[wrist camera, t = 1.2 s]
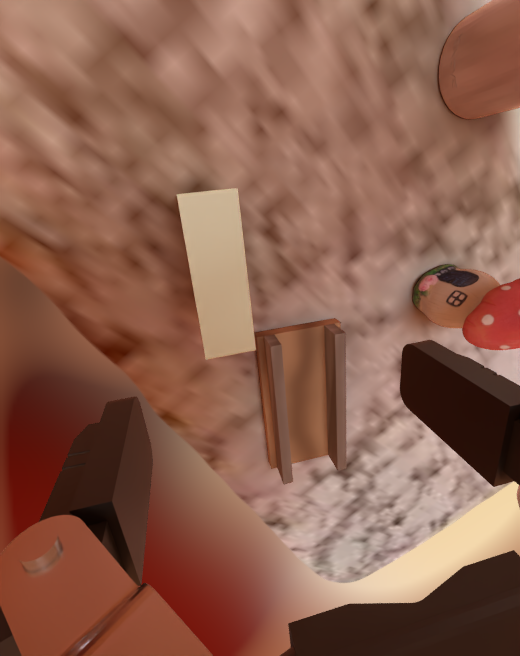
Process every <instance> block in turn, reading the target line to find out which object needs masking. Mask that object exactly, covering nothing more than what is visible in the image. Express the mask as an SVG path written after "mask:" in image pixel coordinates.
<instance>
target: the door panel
mask: <svg viewBox="0 0 520 656" xmlns="http://www.w3.org/2000/svg"><path fill="white" fill-rule="evenodd" d="M177 201H178V206H179V212H180V218H181V223H182V229H183V235H184V240H185V246H186V252H187V257H188V263H189V269H190V274H191V280H192V286H193V291H194V297H195V303H196V308H197V314H198V319H199V325H200V330H201V336H202V341H203V347H204V353H205V358H206V359H212V358H217V357H222V356H228V355H233V354H238V353H244V352H249V351H254V350H256V346H255V337H254V328H253V320H252V311H251V302H250V293H249V285H248V276H247V267H246V258H245V249H244V241H243V232H242V223H241V214H240V206H239V197H238V188H233V189H223V190H214V191H204V192H195V193H185V194H177Z"/></svg>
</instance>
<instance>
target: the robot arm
mask: <svg viewBox="0 0 520 656" xmlns="http://www.w3.org/2000/svg"><path fill="white" fill-rule="evenodd" d="M439 85H440V91H441V94H442V97H443V99H444V102H445V103H446V105H447V106H448V108H449V109H450V110H451V111H452V112H453V113H454V114H455V115H457V116H459V117H461V118H465V119H478V118H481V117H485V116H489V115H493V114H497V113H500V112H504V111H509V110H512V109H516V108H520V0H492V1H490V2H489V3H487V4H486V5H484V6H483V7H481V8H479V9H478V10H476V11H475V12H473V13H472V14H470V15H468V16H467V17H465V18H464V19H463V20H462V21H461V22H460V23H459V24H458V25H457V26H456V27H455V28H454V30H453V31H452V32H451V34H450V35H449V37H448V39H447V41H446V43H445V46H444V48H443V52H442V55H441V59H440V65H439ZM400 393H401V397H402V400H403V402H404V404H405V405H406V407H407V408H408V409H409V410H410V411H411V412H412V413H414V414H415V415H416V416H417V417H418V418H419V419H420V420H421V421H422V422H423V423H424V424H426V425H427V426H428V427H429V428H430V429H431V430H432V431H433V432H434V433H435V434H436V435H438V436H439V437H440V438H441V439H442V440H443V441H444V442H445V443H446V444H447V445H448V446H450V447H451V448H452V449H453V450H454V451H455V452H456V453H457V454H458V455H459V456H461V457H462V458H463V459H464V460H465V461H466V462H467V463H468V464H469V465H470V466H471V467H473V468H474V469H475V470H476V471H477V472H478V473H479V474H480V475H481V476H482V477H483V478H485V479H486V480H487V481H488V482H489V483H490V484H491V485H492V486H493V487H495V486H498V485H502V484H506V483H509V482H513V481H515V482H516V483H517V484H519V487H518V491H517V499H518V503H519V507H520V386H519V385H517V384H516V383H514V382H512V381H510V380H508V379H507V378H505V377H503V376H501V375H497V373H496V372H494V371H492V370H490V369H488V368H484V366H483V365H481V364H479V363H477V362H476V361H474V360H472V359H470V358H468V357H465V356H462V355H458V354H456V353H454V352H452V351H451V350H449V349H447V348H445V347H443V346H442V345H440V344H438V343H436V342H435V341H432V340H427V341H422V342H416V343H411V344H407V345H405V347H404V348H403V351H402V364H401V380H400ZM152 462H153V459H152V449H151V444H150V439H149V436H148V432H147V428H146V424H145V421H144V417H143V413H142V409H141V406H140V402H139V400H138V398H137V397H131V398H125V399H120V400H115V401H110V402H108V403H107V404H106V406H105V409H104V412H103V415H102V418H101V421H100V423H95V424H90V425H88V426H87V427H86V428H85V429H84V430H83V431H82V432H81V433H80V434H79V435H78V436H77V437H76V438H75V439H74V441H73V444H72V446H71V448H70V451H69V453H68V458H66V460H65V462H64V465H63V467H62V471H61V472H60V474H59V476H58V479H57V481H56V483H55V486H54V488H53V490H52V493H51V495H50V497H49V500H48V502H47V504H46V507H45V509H44V511H43V514H42V516H41V518H40V521H39V522H38V523H36V524H34V525H33V526H31V527H29V528H28V529H26V530H25V531H24V532H22V533H21V534H20V535H19V536H17V537H16V538H15V539H14V540H13V541H12V542H11V543H10V544H9V545H8V546H7V547H6V548H5V549H4V551H3V552H2V553H1V555H0V656H213V655H212V654H211V653H210V652H209V651H208V650H207V648H205V646H204V645H203V644H202V643H201V642H200V640H199V639H198V638H197V637H196V636H195V635H194V634H193V633H192V632H191V630H190V629H189V628H188V627H187V626H186V625H185V623H184V622H183V621H182V620H181V619H180V618H179V617H178V616H177V614H176V613H175V612H174V611H173V610H172V609H171V608H170V607H169V605H168V604H167V603H166V602H165V601H164V600H163V598H162V597H161V596H160V595H159V594H158V593H157V592H156V591H155V590H154V589H153V588H152V587H151V586H150V585H148V584H146V583H144V584H143V585H141V582H142V571H143V561H144V549H145V540H146V529H147V519H148V508H149V496H150V487H151V475H152V464H153V463H152ZM139 586H140V587H139ZM288 625H289V634H290V643H291V648H290V649H288V650H287V651H286V652H284V653H283V654H282V655H280V656H520V556H519V555H518V554H517V553H516V552H515V551H514V550H513V551H510V552H507V553H504V554H501V555H498V556H495V557H492V558H489V559H486V560H482V561H479V562H476V563H473V564H470V565H467V566H464V567H462V568H461V569H460V570H459V571H458V572H456V573H455V574H454V575H453V576H452V577H450V578H449V579H448V580H446V581H445V582H444V583H443V584H441V585H440V586H439V587H438V588H437V589H435V590H434V591H433V592H432V593H430V595H428V596H427V597H425V598H424V599H423V600H421V601H419V602H416V603H381V604H380V603H379V604H378V603H377V604H347V605H344V606H341V607H338V608H335V609H332V610H329V611H326V612H322V613H319V614H316V615H313V616H310V617H307V618H304V619H301V620H298V621H295V622H292V623H289V624H288Z"/></svg>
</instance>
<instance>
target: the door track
mask: <svg viewBox="0 0 520 656" xmlns="http://www.w3.org/2000/svg"><path fill="white" fill-rule="evenodd" d="M254 335H255V344H256V353H257V361H258V370H259V379H260V388H261V396H262V405H263V414H264V423H265V432H266V440H267V449H268V458H269V463H270V466H271V469H272V468H276V467H277V468H278V470H279V473H280V476H281V478H282V481H283V484H287V483H291V482H293V476H292V464H293V463H297V462H301V461H305V460H309V459H313V458H317V457H321V456H325V455H329V457H330V458H331V460H332V462H333V463H334V465H335V467H336V469H337V470H342V469H345V468H346V341H345V332H344V331H343V330H341V329H340V322H339V321H338V320H337V319H335V318H334V319H328V320H323V321H317V322H311V323H306V324H300V325H295V326H289V327H283V328H278V329H272V330H266V331H261V332H255V333H254Z"/></svg>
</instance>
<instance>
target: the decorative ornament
mask: <svg viewBox="0 0 520 656" xmlns="http://www.w3.org/2000/svg"><path fill="white" fill-rule="evenodd" d="M413 302H414V304H415V306H416V307H417V308H418V309H419V310H421V311H422V312H423V313H424V314H425V315H426V316H427V317H428V319H429V320H431V321H432V322H434V323H436V324H438V325H440V326H443V327H448V328H463V329H462V331H463V335H464V337H465V339H466V340H467V341H468V342H469V343H471V344H473V345H475V346H477V347H480V348H485V349H490V350H508V349H516V348H520V279H517V280H515V281H513V282H511V283H507V284H503V285H500V284H499V283H498V282H497V281H496V280H495V279H494V278H493V277H492V276H490V275H488V274H486V273H484V272H481V271H477V270H471V269H458V268H457V267H456V266H454V265H448V264H447V265H441V266H438V267H436V268H434V269H432V270H430V271H428V272H427V273H425V274H424V275H422V277H421V278H420V280H419V281H418V282H417V284H416V285H415V287H414V293H413Z"/></svg>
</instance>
